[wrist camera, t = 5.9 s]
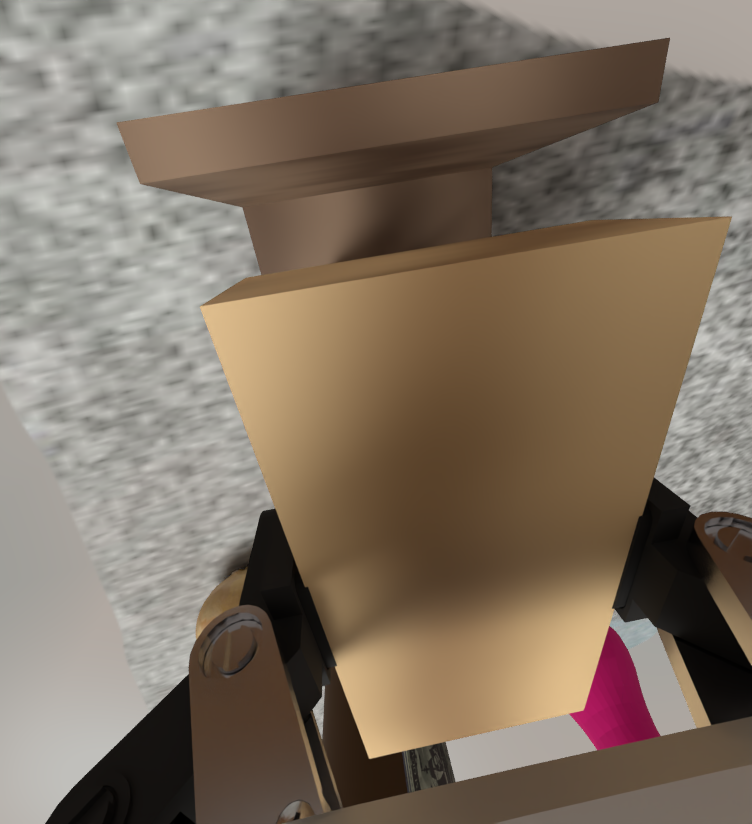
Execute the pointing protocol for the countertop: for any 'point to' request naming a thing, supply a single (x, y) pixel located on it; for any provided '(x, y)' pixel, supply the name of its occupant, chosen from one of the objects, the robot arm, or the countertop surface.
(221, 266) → the countertop surface
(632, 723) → the pepper mill
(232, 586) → the onion
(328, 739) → the olive oil
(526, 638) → the oak board
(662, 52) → the shelf cradle
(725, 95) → the countertop surface
